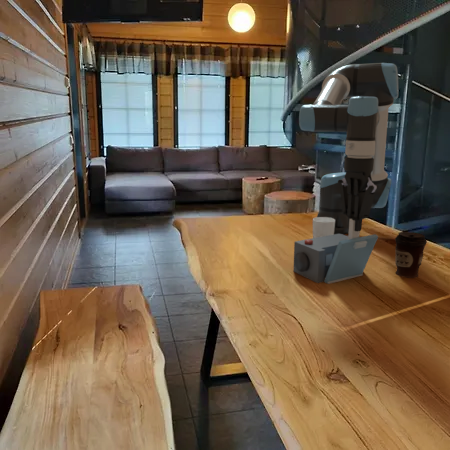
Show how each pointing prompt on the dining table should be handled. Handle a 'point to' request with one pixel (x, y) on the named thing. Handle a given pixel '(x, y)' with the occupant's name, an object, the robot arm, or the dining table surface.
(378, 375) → the dining table surface
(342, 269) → the side door
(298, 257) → the grey notched block
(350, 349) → the dining table surface
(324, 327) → the dining table surface
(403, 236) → the coffee cup
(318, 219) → the white cup
